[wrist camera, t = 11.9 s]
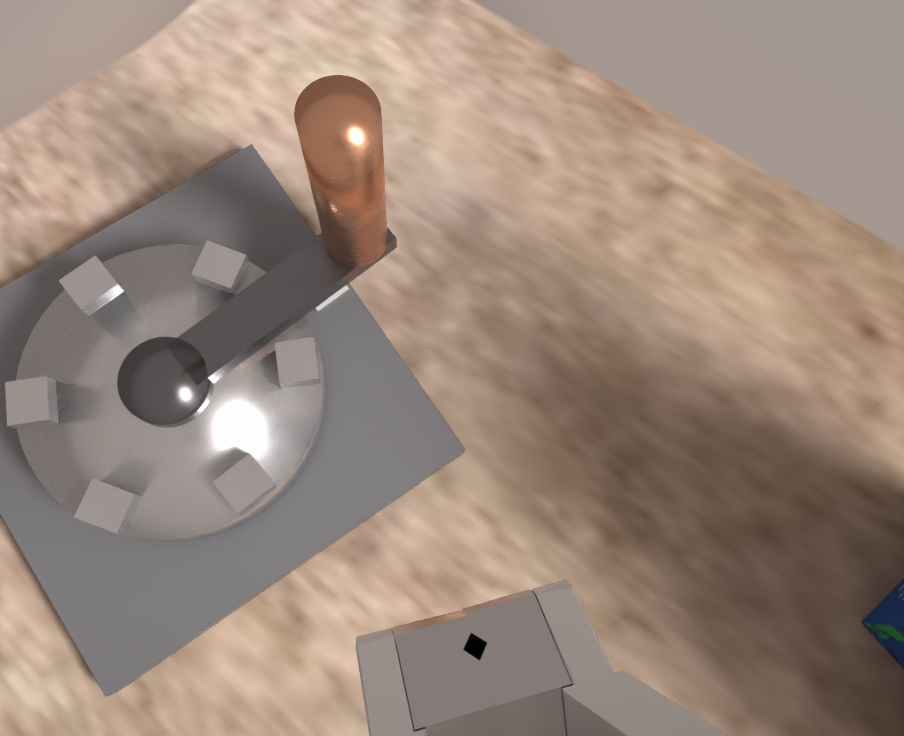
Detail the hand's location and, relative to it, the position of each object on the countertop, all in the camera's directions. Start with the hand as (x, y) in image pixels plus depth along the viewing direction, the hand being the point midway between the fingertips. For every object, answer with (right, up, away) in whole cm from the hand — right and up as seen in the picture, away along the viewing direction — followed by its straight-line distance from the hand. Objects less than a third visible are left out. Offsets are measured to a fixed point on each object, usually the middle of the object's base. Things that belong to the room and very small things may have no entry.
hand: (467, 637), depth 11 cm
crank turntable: (-11, +4, +30) cm, 32 cm away
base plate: (-14, +2, +31) cm, 34 cm away
